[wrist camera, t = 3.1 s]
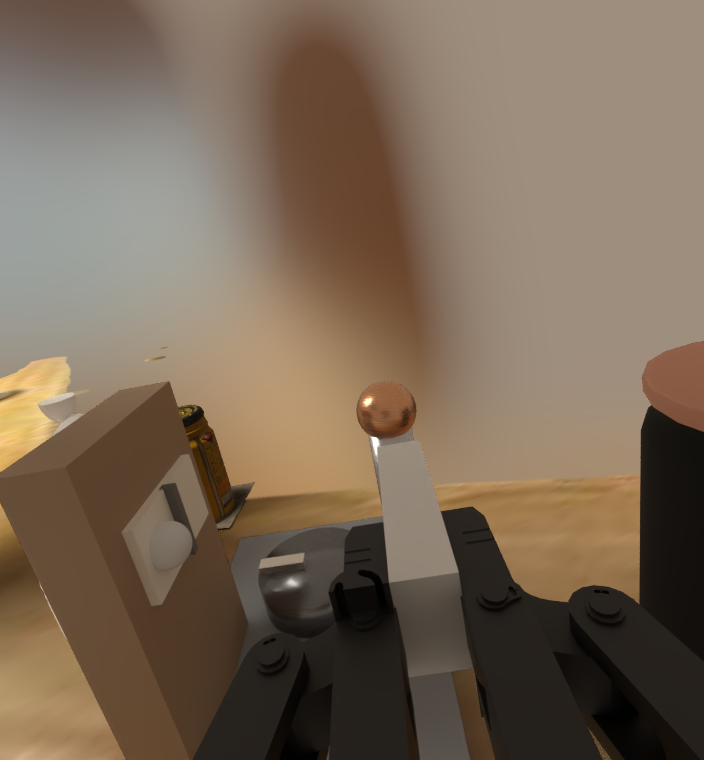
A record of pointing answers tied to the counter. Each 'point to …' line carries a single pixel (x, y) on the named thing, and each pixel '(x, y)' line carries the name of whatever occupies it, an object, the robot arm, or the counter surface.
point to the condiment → (212, 468)
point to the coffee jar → (674, 494)
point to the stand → (158, 577)
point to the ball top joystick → (329, 529)
